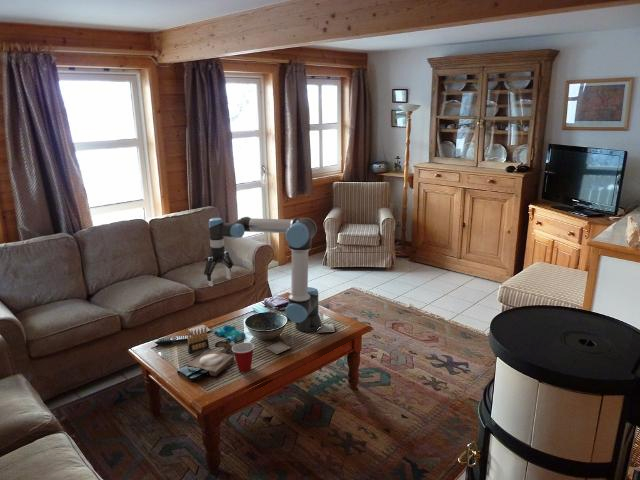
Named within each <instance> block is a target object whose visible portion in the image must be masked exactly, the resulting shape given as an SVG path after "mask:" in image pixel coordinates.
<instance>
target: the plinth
mask: <svg viewBox="0 0 640 480" xmlns="http://www.w3.org/2000/svg"><path fill="white" fill-rule="evenodd" d="M220 352H221V351H219V352H218V351H215V350H210V349H206V350H205V351H204V352H202V353H201V354H200V355H198V356H197V357H195V358H194V359H193V360H191V362H189V363H188V364H187V368H188V367H194V368H200V369H204V370H208V371H209V373H210V375H209V376H212V377H217V376H218V375H219V374H220V373H221V372H222V371H224V370H225V369H226V368H227V367H228V366H229V365H231V364H232V363H233V362H234V361H235V355H234V354H233V355H232V354H229V353H227V354H225V353H220Z"/></svg>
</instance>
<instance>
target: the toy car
mask: <svg viewBox="0 0 640 480" xmlns="http://www.w3.org/2000/svg"><path fill="white" fill-rule="evenodd" d="M213 334H214V335H215V336H218V337H223V336H224V337H226V338H225V342H226V341H227V339H228V341H230V343H231V341H233V342H234V343H236V342H238V341H241V340H242V339H245V338H246V333H245V332H244V331H239V329H237V328H236V326H231V325H224V326H222V327H221V328H218V329H217V328H216V329H215V330H214V333H213ZM228 341H227V342H228Z"/></svg>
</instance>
